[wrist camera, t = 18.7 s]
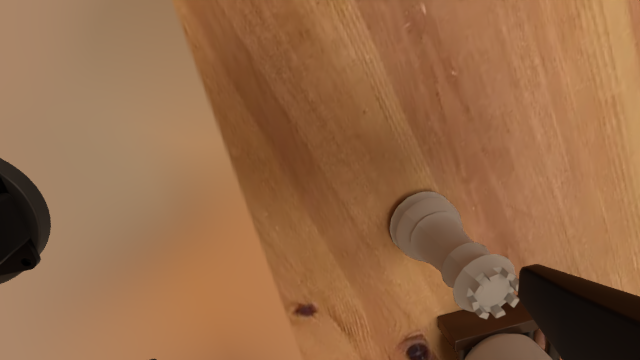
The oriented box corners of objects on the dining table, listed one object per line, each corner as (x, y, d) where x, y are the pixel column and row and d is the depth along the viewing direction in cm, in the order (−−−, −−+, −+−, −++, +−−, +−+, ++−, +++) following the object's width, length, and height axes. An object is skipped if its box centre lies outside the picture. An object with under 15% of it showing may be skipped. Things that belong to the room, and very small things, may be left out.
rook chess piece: (373, 229, 23) (433, 312, 16) (417, 175, 22) (501, 236, 15) (419, 260, 25) (494, 348, 17) (462, 210, 24) (558, 281, 17)
